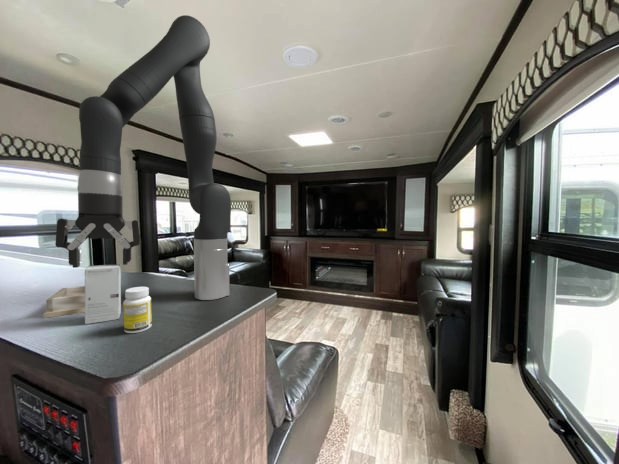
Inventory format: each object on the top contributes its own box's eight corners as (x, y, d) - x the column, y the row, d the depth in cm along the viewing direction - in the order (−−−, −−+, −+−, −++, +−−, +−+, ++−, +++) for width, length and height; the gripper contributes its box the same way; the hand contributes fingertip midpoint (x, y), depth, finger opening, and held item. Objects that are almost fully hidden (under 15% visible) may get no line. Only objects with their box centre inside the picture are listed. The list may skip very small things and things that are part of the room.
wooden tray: (117, 295, 72) (117, 282, 72) (110, 308, 62) (109, 293, 62) (61, 302, 66) (60, 288, 66) (42, 318, 56) (42, 300, 55)
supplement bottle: (135, 323, 53) (134, 285, 53) (156, 324, 53) (156, 286, 53) (117, 333, 49) (116, 292, 48) (141, 334, 48) (140, 292, 48)
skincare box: (84, 325, 52) (82, 269, 52) (88, 318, 56) (86, 265, 55) (120, 319, 56) (119, 266, 55) (122, 312, 59) (121, 263, 59)
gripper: (141, 197, 61) (141, 261, 62) (63, 192, 54) (63, 265, 55) (138, 194, 55) (138, 266, 56) (49, 188, 48) (50, 271, 48)
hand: (101, 265), depth 55 cm, fingers open, 8 cm apart
